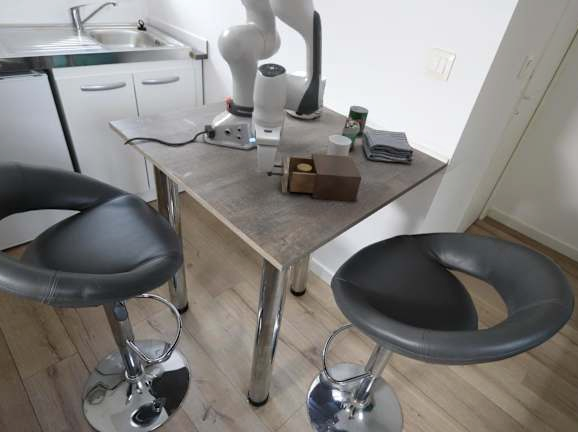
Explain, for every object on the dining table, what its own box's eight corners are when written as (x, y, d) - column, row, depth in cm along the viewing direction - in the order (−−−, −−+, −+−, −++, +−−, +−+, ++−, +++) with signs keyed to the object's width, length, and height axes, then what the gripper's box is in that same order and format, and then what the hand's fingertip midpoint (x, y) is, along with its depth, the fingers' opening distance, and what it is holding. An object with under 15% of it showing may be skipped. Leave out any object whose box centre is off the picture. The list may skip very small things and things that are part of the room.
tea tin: (310, 185, 108) (312, 171, 105) (295, 184, 107) (297, 170, 105) (308, 177, 112) (311, 164, 109) (294, 176, 111) (296, 163, 108)
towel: (359, 144, 145) (363, 126, 140) (401, 148, 147) (407, 131, 143) (367, 161, 132) (372, 142, 128) (412, 165, 135) (419, 147, 130)
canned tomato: (362, 131, 157) (368, 107, 150) (362, 138, 150) (369, 113, 144) (344, 128, 157) (350, 104, 150) (344, 135, 150) (350, 110, 144)
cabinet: (312, 198, 106) (317, 173, 101) (308, 176, 117) (311, 153, 112) (355, 201, 108) (361, 177, 103) (346, 179, 119) (352, 156, 114)
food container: (353, 156, 134) (359, 131, 129) (338, 152, 135) (343, 128, 129) (356, 144, 145) (362, 120, 139) (341, 140, 145) (346, 117, 139)
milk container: (321, 125, 157) (329, 84, 146) (283, 119, 156) (288, 78, 145) (321, 112, 171) (327, 73, 160) (285, 107, 170) (290, 68, 159)
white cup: (339, 173, 121) (345, 146, 116) (319, 165, 124) (324, 139, 118) (349, 165, 127) (355, 140, 121) (330, 158, 130) (335, 133, 124)
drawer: (266, 191, 104) (268, 171, 100) (265, 171, 113) (267, 152, 109) (322, 195, 106) (326, 176, 102) (317, 175, 116) (321, 157, 112)
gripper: (256, 112, 106) (254, 154, 114) (255, 140, 90) (252, 186, 97) (277, 115, 107) (273, 155, 115) (280, 142, 91) (275, 188, 98)
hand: (264, 170), depth 106 cm, fingers closed
